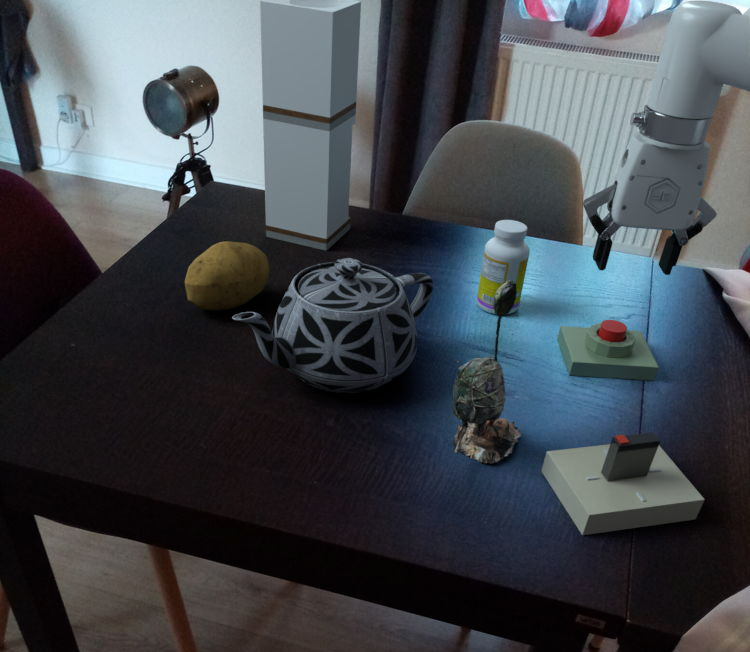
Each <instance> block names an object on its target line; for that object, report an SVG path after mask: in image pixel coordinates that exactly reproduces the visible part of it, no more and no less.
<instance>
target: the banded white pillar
mask: <svg viewBox="0 0 750 652" xmlns="http://www.w3.org/2000/svg"><path fill="white" fill-rule="evenodd" d="M259 9H260V11H259V12H260V45H261V50H260V51H261V86H262V87H261V88H262V91H261V92H262V125H263V126H262V128H263V129H262V131H263V167H264V168H263V170H264V206H265V207H264V208H265V211H264V212H265V237H267V238H270V239H274V240H279V241H283V242H286V243H287V242H288V243H292V244H296V245H299V246H304V247H309V248H312V249H318V250H321V251H325V252H327V251H328V250H329V249H330V248H331V247H332V246H333V245H334V244H335V243H337V242H338V241H339V240H340V239H341V238H342V237H343V236H344V235H345V234H346V233H348V231H350V230H351V223H352V222H351V219H352V218H351V217H350V216H349V212H350V189H351V171H352V170H351V167H352V147H353V146H352V144H353V126H354V125H355V124H356V118H357V117H356V115H357V96H358V94H357V93H358V78H359V77H358V76H359V75H358V73H359V56H360V35H361V33H360V32H361V14H362V13H361V11H362V1H361V0H289V3H285V2H280V1H279V2H278V1H272V0H259Z"/></svg>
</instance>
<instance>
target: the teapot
mask: <svg viewBox="0 0 750 652" xmlns="http://www.w3.org/2000/svg"><path fill="white" fill-rule="evenodd" d="M414 285H419V287H418V291H417V293H416V295H415V297H414V299H413V300H412V301H411V303H410V302H409V299H408V297H407V295H406V292H405V290H404V288H407V287H410V286H414ZM433 290H434V281H433V278H432V277H431V276H430V275H428V274H427V273H423V272H414V273H412V272H411V273H407V274H404V275H400V276H396V277H395V275H393V274H391V273H389V272H388V271H387V270H384V269H383V268H380V267H378V266H374V265H371V264H366V263H363V262H361V261H360V260H358V259H356V258H353V257H343V258H339V259H337V260H336V261H330V262H323V263H318V264H315V265H311V266H308V267H306V268H304V269H302V270H300V272H298V273H297V274H296V275H295V276H294V277H293V278H292V280H291V282H290V284H289V285H288V287H287V290H286V291H285V293H284V296H283V297H282V300H281V302H280V303H279V306H278V308H277V312H276V314H275V317H274V320H273V324H272V330H271V328H270V326H269V324H268V321H266V319H265V318H264V316H263V315H261V314H259V313H258V312H255V311H245V312H239V313H237V314H234V315H233V316H232V317H231V319H232V320H234V321H236V322H242V323H245V324H247V325H248V326H249V327H251V329H252V331H253V334H254V336H255V339H256V343H257V346H258V348H259V351H260V353H261V354H262V356H263V357H264V358H265V359H266V360H267V362H269V363H270V364H272V365H274V366H275V367H278V368H282V369H286V370H288V371H289V372H290V373H291V374H293V375H294V376H295V377H296V378H299V379H300V380H301V381H303V382H304V383H305V384H307V385H309V386H311V387H314V388H315V389H319V390H322V391H325V392H331V393H337V394H356V393H357V394H359V393H363V392H369V391H371V390H376V389H378V388H380V387H382V386H384V385H386V384H387V383H389V382H391V381H392V380H394V379H396V378H397V377H399V376H401V375H402V374H403V373H404V372H405V371H406V370H407V369H408V368H409V366H410V365H411V364H412V362H413V361H414V358H415V357H416V353H417V349H418V330H417V325H416V319H417V318H419V316H420V315H421V314H422V313H423V311H424V309H425V308H426V307H427V305H428V303H429V301H430V300H431V297H432V294H433Z"/></svg>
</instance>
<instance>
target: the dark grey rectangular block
mask: <svg viewBox="0 0 750 652" xmlns="http://www.w3.org/2000/svg"><path fill="white" fill-rule="evenodd" d="M660 443H661V439H660V438H659V437H658V436H657V435H656V434H655V432H653V431H652V432H644V433H643V432H642V433H636V434H627V435H625V434H618V435H615V436H612V438H611V441H610V443H609V444H610V447H609V450H608V453H607V456H606V459H605V462H604V465H603V468H602V470H601V473H602V475H603V476H604V477H605V479H606V480H607V481H612V480H620V479H628V478H635V477H643V476H647V474H648V472H649V469H650V467H651V464H652V461H653V459H654V456H655V454H656V451H657V449H658V446H660Z"/></svg>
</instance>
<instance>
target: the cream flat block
mask: <svg viewBox="0 0 750 652" xmlns="http://www.w3.org/2000/svg"><path fill="white" fill-rule="evenodd" d="M610 444H611V443H607V444H600V445H592V446H581V447H572V448H564V449H563V448H562V449H554V450H546V452H545V456H544V459H543V463H542V467H541V473H542V475H543V476H544V478H545V480H546V481H547V482H548V484H549V485H550V487H551V489H552V490H553V492H554V493H555V495H556V497H557V498H558V500H559V502H560V503H561V505H562V506H563V508H564V509H565V511H566V512H567V514H568V515H569V517H570V519H571V520H572V522H573V523H574V525H575V526H576V528H577V529H578V531H579V533H580V534H581V536H588V535H594V534H601V533H603V534H604V533H609V532H615V531H623V530H630V529H637V528H645V527H652V526H659V525H665V524H674V523H679V522H687V521H693V520H694V521H695V520H697V517H698V515H699V513H700V510H701V509H702V506H703V504H704V502H705V498H704V497H703V495H702V494H701V493H700V492H699V491H698V490H697V488H696V487H695V486H694V484H692V482H691V481H690V480H689V479H688V478H687V477H686V475H685V474H684V473H683V472H682V470H680V468H679V467H678V466H677V464H675V462H674V461H673V460H672V459H671V457H670V456H669V455H668V454H667V453H666V452H665V450H664V449H663V448H662V447H661V446H660V445H659V446H658V449H657V451H656V454H655V456H654V459H653V461H652V464H651V467H650V469H649V472H648V474H647V476H643V477H635V478H628V479H620V480H612V481H607V480H606V479H605V477H604V476H603V475H602V473H601V470H602V468H603V465H604V462H605V459H606V456H607V453H608V450H609V447H610Z"/></svg>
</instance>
